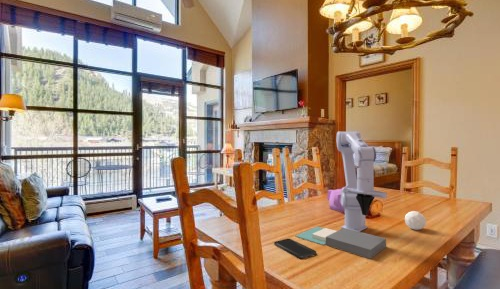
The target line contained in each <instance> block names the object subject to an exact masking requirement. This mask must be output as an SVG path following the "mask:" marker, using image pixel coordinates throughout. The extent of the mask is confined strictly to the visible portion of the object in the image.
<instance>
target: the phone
mask: <svg viewBox="0 0 500 289" xmlns="http://www.w3.org/2000/svg"><path fill="white" fill-rule="evenodd" d="M273 245H274V246H276V247H277V248H279V249H281V250H282V251H285V252H286V253H288V254H289V255H291V256H293V257H295V258H296V259H299V260H304V259H307V258H310V257H314V256H316V255H317V250H314V249H313V248H311V247H308V246H307V245H304V244H303V243H300V242H298V241H296V240H294V239H291V238H285V239H284V238H283V239H280V240H276V241H274V243H273Z"/></svg>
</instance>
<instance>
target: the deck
mask: <svg viewBox="0 0 500 289" xmlns="http://www.w3.org/2000/svg"><path fill="white" fill-rule="evenodd" d="M336 231H337V232H335V233H333V234H330V235H328V236H326V244H325V245H326V246H328V247H331V248H334V249H336V250H337V249H338V250H341V251H344V252H347V253H350V254H354V255H357V256H360V257H363V258H366V259H369V260H371V259H372V258H374V257H375V256H376V255H377V254H379V253H380V252H381V251H383V250H384V249H385V248H386V247H387V238H386V237H382V236H377V235H374V234H370V233H366V232H362V231H360V232H358V231H354V230H350V229H346V228H341V229H339V230H336Z"/></svg>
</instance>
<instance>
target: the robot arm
mask: <svg viewBox="0 0 500 289" xmlns="http://www.w3.org/2000/svg"><path fill="white" fill-rule="evenodd" d="M335 140H336V148H337V151H338V152H340V153H341V158H342V163H343V171H344V179H345V186H343V187H344V188H343V189H342V188H341V189H342V190H341V204H342V206H343V207H345V212H344V225H342V226H340V228H341V229H343V228H346V229H350V230H354V231H358V232H362V231H364V230H366V229H367V228H368V227H369V226H367V225H366V216H367V215H369V212H370V209H371V205H372V204H373V201H374V200H375V198H380V199H384V200H385V199H387V197H388V196H387V195H388V192H385V191H379V190H375V189H374V186H375V185H374V183H375V182H374V181H375V179H374V178H375V175H374V171H375V170H374V168H375V166H374V162H376V160H377V150H376V147H375V146H374V145H372V146H369V145H368V144H367V143H366V142H365V141H364V140H363V138H362V137H361V133H360V132H359V130H357V131H355V130H354V131H339V130H337V132H336V138H335ZM354 159H355V160H354Z"/></svg>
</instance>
